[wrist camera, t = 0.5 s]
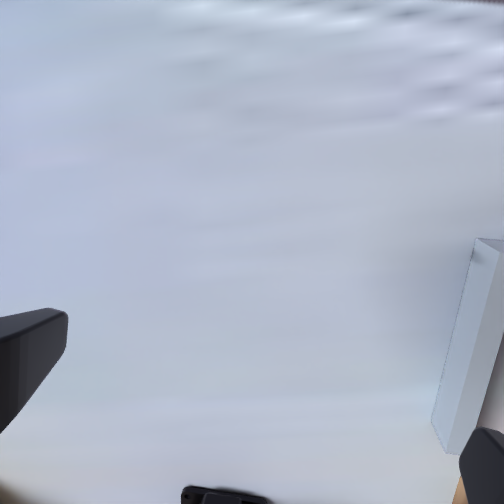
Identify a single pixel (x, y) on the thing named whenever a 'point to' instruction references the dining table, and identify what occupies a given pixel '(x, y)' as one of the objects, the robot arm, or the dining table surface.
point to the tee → (460, 494)
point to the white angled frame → (472, 347)
